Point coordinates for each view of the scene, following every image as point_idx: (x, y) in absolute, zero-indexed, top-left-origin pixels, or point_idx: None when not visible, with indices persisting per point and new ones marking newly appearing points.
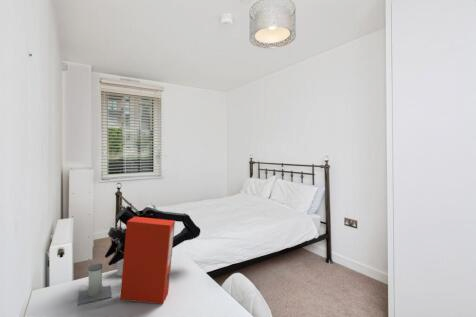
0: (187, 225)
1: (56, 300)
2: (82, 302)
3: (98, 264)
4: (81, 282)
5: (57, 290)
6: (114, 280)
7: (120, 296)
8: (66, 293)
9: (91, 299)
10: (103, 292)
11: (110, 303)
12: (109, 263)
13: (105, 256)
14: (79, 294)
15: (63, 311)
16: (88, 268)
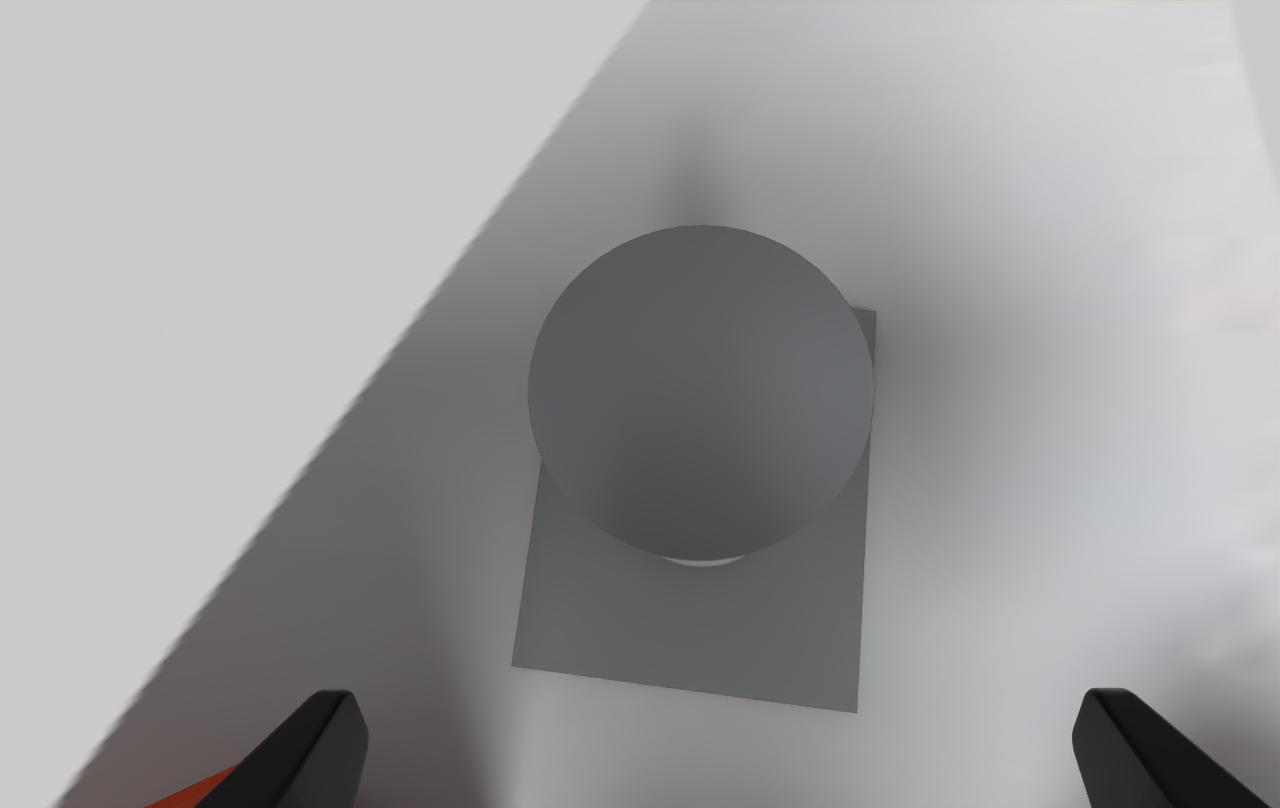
0: None
1: (823, 101)
2: None
3: (758, 464)
4: (1198, 345)
5: (1085, 92)
6: (1036, 802)
7: (235, 766)
8: (945, 184)
9: None
10: (685, 585)
11: (389, 631)
12: (295, 735)
13: (1091, 715)
14: None
15: (539, 174)
16: (670, 237)
